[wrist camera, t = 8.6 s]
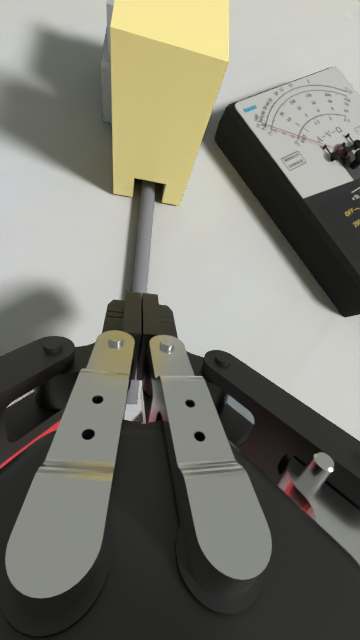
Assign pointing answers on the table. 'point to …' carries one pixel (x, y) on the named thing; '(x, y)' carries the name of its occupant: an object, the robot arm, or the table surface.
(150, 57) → the yellow block
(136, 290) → the rod
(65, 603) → the robot arm
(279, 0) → the table surface
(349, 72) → the table surface
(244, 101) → the multimeter
